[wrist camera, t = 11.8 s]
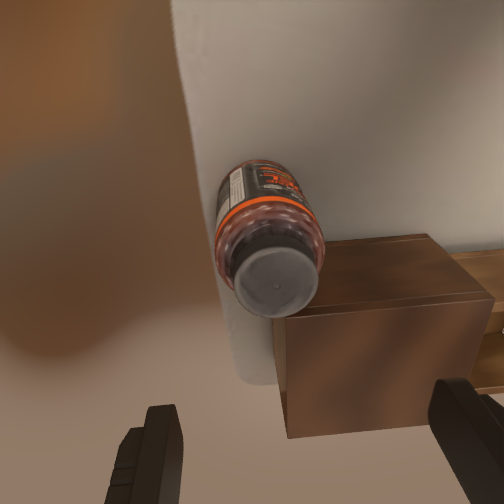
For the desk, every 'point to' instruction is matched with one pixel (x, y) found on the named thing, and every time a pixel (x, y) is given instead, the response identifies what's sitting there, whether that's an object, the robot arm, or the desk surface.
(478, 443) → the robot arm
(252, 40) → the desk surface
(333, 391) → the cabinet
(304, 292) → the supplement bottle
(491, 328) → the drawer
